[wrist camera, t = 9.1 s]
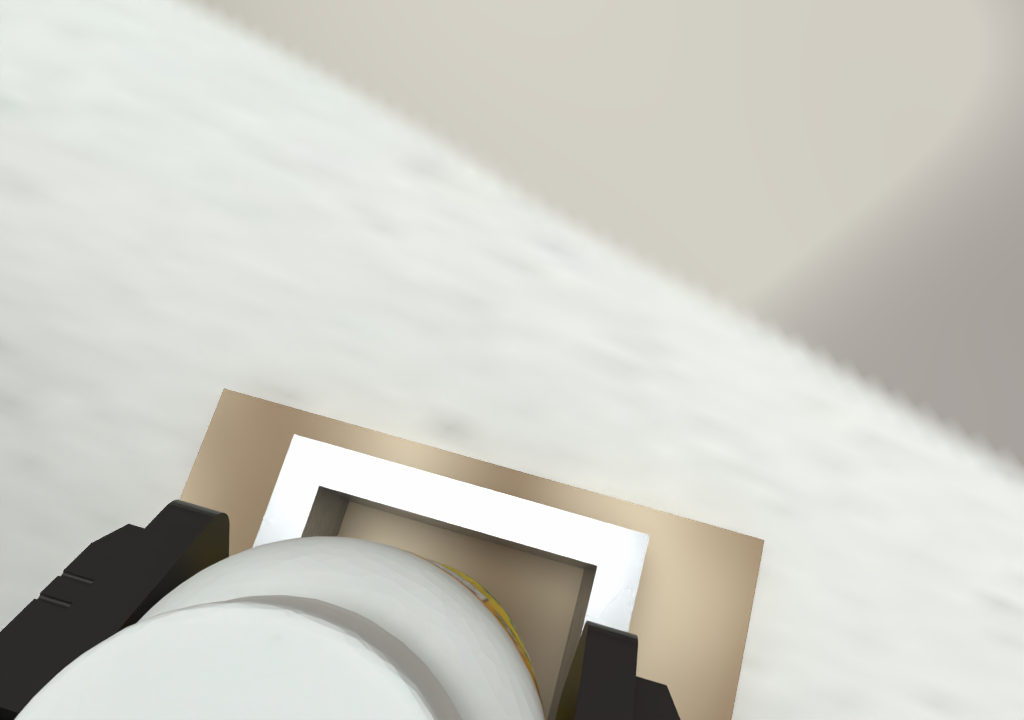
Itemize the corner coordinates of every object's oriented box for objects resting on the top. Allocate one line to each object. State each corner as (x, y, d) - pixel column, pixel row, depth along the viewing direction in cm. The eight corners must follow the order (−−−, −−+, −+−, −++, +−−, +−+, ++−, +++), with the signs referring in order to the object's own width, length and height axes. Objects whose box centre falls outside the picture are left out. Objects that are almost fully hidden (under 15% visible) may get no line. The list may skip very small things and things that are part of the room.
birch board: (83, 783, 21) (62, 792, 20) (235, 396, 24) (223, 388, 23) (671, 976, 19) (680, 996, 18) (753, 542, 22) (764, 540, 21)
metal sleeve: (211, 789, 20) (149, 830, 16) (327, 457, 22) (294, 434, 19) (545, 898, 19) (552, 964, 16) (628, 543, 21) (649, 535, 18)
